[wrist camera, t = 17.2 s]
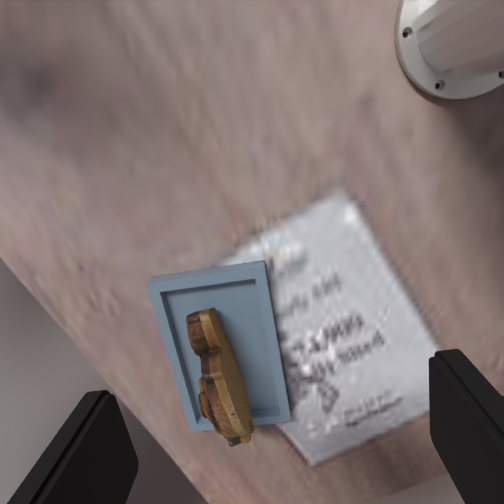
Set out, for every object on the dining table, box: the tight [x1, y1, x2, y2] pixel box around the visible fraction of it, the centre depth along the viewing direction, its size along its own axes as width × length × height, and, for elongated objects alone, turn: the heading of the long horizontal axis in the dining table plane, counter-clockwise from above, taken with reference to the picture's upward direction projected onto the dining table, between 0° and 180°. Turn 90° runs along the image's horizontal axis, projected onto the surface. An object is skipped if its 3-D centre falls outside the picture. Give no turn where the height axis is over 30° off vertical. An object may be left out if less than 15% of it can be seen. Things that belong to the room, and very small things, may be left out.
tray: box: [147, 260, 291, 432], centre depth 42 cm, size 13×21×2 cm, turn 10°
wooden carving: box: [186, 307, 255, 447], centre depth 37 cm, size 16×5×10 cm, turn 22°
